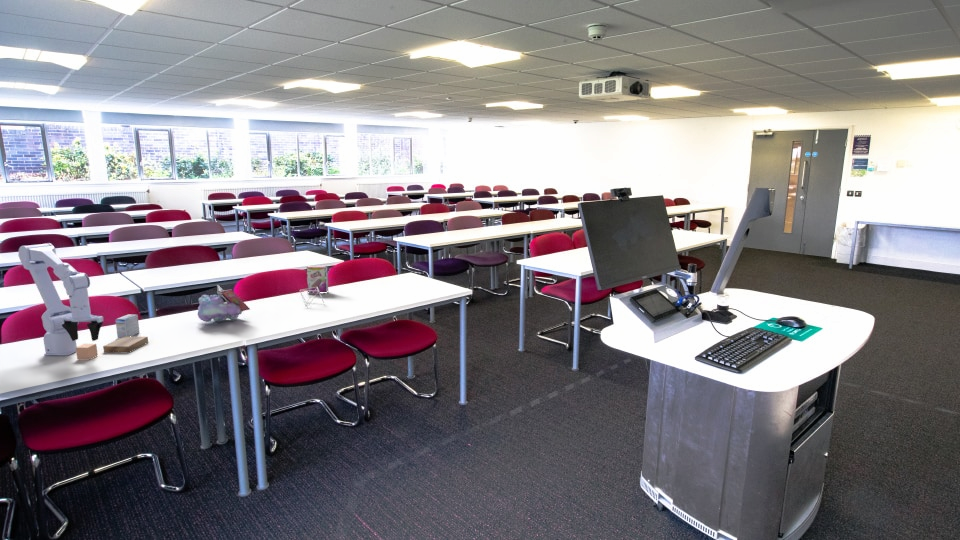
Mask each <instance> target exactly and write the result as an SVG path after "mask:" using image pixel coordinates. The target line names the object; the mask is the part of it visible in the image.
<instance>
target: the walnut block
mask: <svg viewBox="0 0 960 540" xmlns="http://www.w3.org/2000/svg"><path fill="white" fill-rule="evenodd" d="M145 343H147V344H149V337H148V336H131V337H122V338H118V339H115V340H113V341H111V342H108V343H107V344H105V345H103V347H102V348H103V353H121V352H129V353H131V352H133V351H135V350H137V349H139V348H141V347H143V346H144V344H145ZM142 345H143V346H142ZM145 345H146V344H145ZM140 346H141V347H140ZM138 347H139V348H138ZM136 348H137V349H136ZM134 349H135V350H134ZM132 350H133V351H132ZM130 351H131V352H130Z"/></svg>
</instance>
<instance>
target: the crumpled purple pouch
mask: <svg viewBox="0 0 960 540" xmlns="http://www.w3.org/2000/svg"><path fill="white" fill-rule="evenodd" d="M216 287H217V291H216V293H217V294H210V295H208V294H202V295H201V296H200V297H199V298H198V304H199V306H198V307H197V310H198V311H197V316H198V319H200V320H201V321H202V322H206V323H207V322H208V323H209V322H211V321H212V320H213V321H215V322H217V323H220V322H223V321H225V320H227V319H229V320H231V321H235V320H237V319H238V318H239V316H240V315H242V313H243V312H245V311H250V310H251V309H250V307H249V306H248V305H247V304H246V303H245V302H244V301H243V300H242V299H241V298H240V297H239V296H238V294H236V292H235V291H234V290H233V289H226V290H225V289H223V288H222V287H221V286H220V285H219V284H216Z"/></svg>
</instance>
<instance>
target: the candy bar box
mask: <svg viewBox="0 0 960 540" xmlns="http://www.w3.org/2000/svg"><path fill="white" fill-rule="evenodd" d="M328 275H329V274H328V266H327V265H308V266H306V283H307V284H306V285H307V286H306V287H307V288H310V289H307V290H311V291H307V293H308V292H309V293H313V292H314V293H317V292H318V291H320V292H327V291H328V292H329V279H328V277H329V276H328ZM313 287H315V288H313ZM317 287H318V289H319V290H318V289H317ZM315 289H316V290H315ZM318 293H319V292H318Z"/></svg>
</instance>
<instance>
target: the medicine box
mask: <svg viewBox="0 0 960 540" xmlns="http://www.w3.org/2000/svg"><path fill="white" fill-rule="evenodd" d="M114 320H115V321H114V322H115V328H116V335H117V336H116V337H117V338H118V339H120V338H122V337H130V336H131V337H134V336H135V335H137V333H138V334H139V333H140V326H139V325H140V324H139V315H138V314H133V313H132V314H129V313H128V314H126V315H123V316H121V317H118V318H116V319H114Z"/></svg>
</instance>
